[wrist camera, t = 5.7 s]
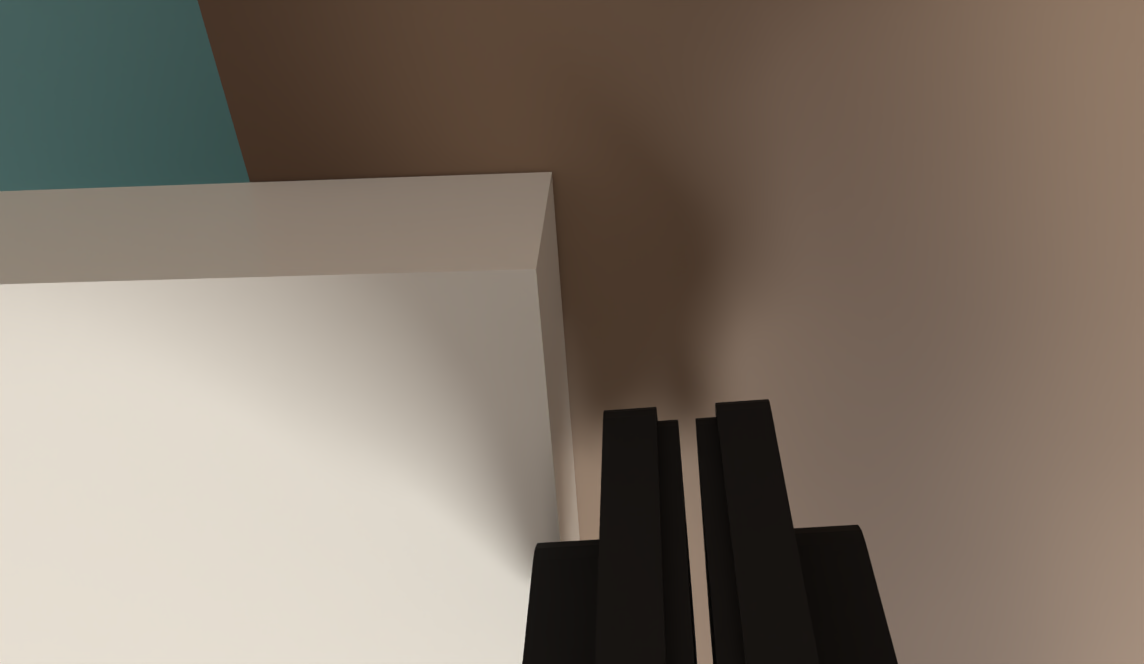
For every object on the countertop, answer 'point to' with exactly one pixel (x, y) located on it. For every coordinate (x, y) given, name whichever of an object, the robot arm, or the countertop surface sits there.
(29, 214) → the tile
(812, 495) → the brown flat block
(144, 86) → the mat
